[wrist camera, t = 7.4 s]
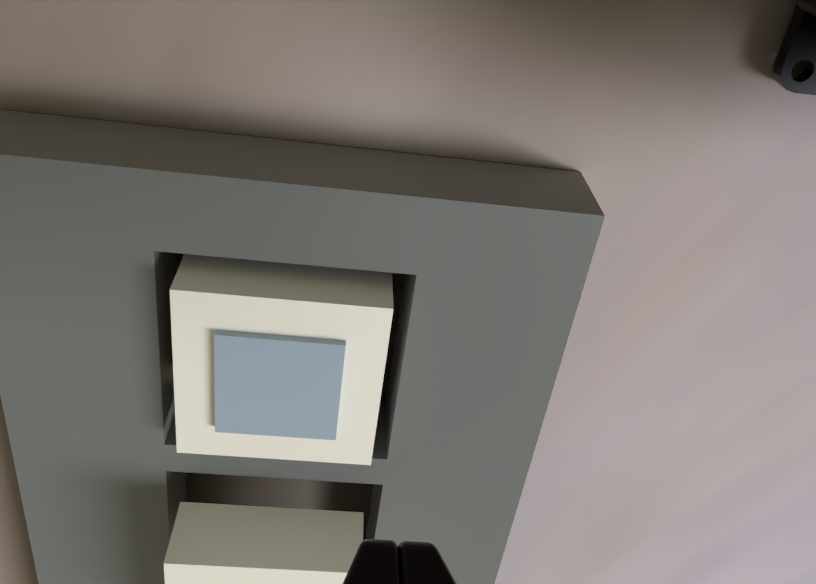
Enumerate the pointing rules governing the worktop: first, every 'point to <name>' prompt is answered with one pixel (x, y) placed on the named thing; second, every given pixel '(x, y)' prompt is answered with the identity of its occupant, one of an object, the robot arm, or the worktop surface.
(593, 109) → the worktop surface
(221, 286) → the key
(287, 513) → the key
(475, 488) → the keypad board
